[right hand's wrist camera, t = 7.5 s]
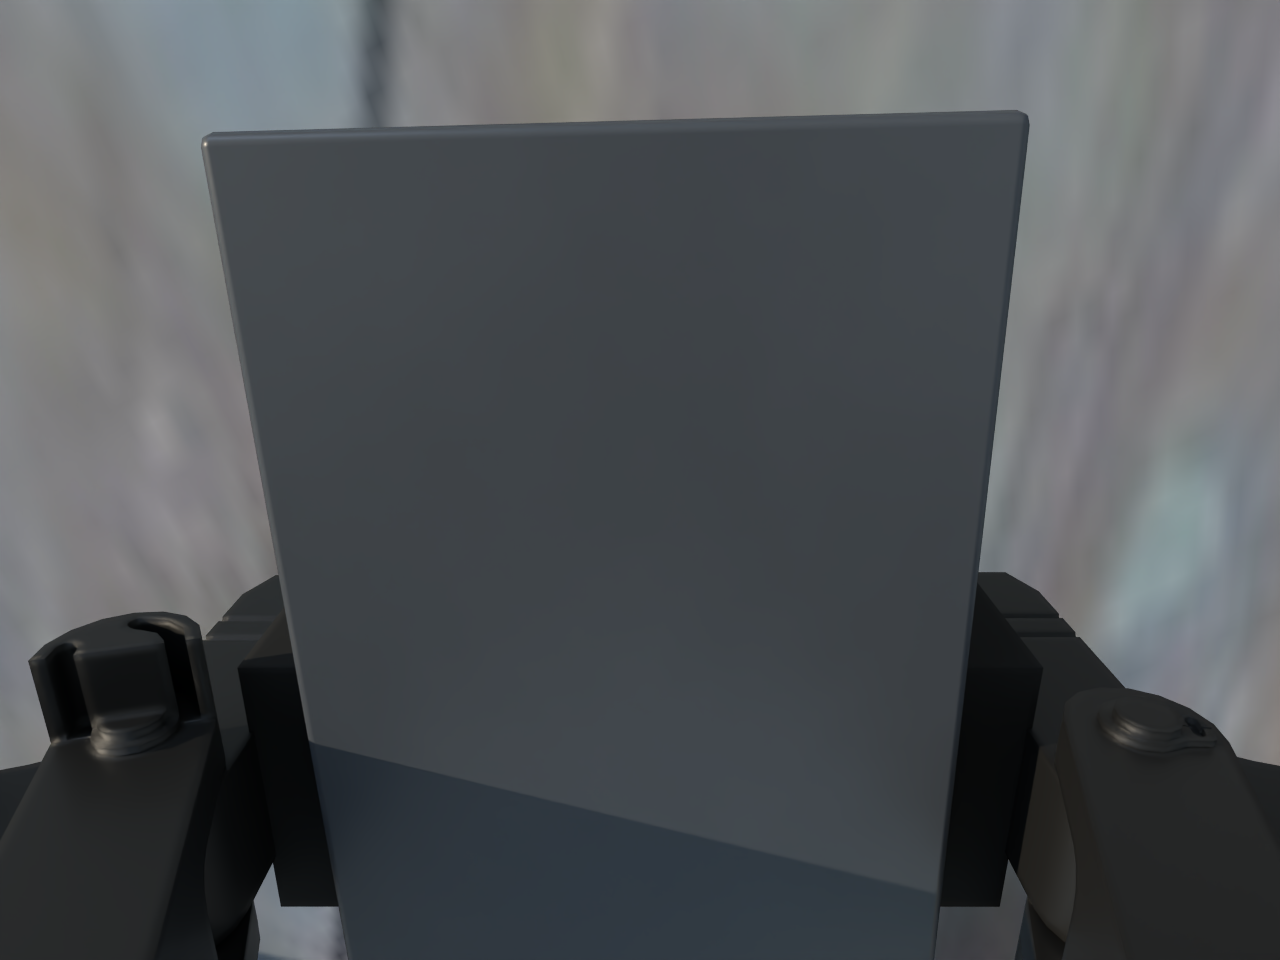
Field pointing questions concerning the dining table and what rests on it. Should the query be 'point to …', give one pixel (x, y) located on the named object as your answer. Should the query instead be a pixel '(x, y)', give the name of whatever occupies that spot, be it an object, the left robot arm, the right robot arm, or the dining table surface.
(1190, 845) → the right robot arm
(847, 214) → the beam
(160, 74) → the dining table surface
